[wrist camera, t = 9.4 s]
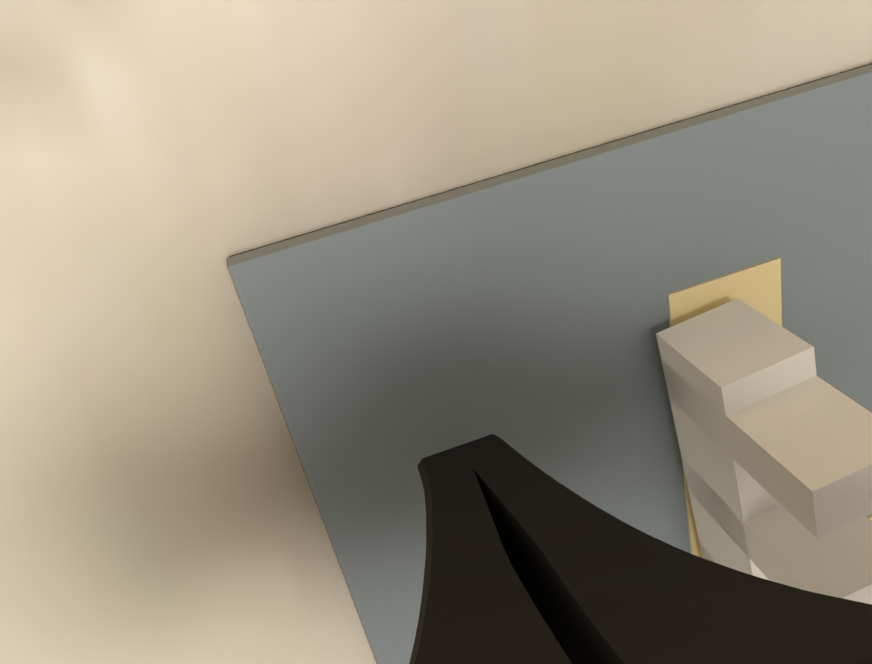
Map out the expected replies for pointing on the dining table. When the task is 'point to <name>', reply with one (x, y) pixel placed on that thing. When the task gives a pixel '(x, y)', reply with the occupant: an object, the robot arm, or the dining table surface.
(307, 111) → the dining table surface
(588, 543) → the robot arm
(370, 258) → the board
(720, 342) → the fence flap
